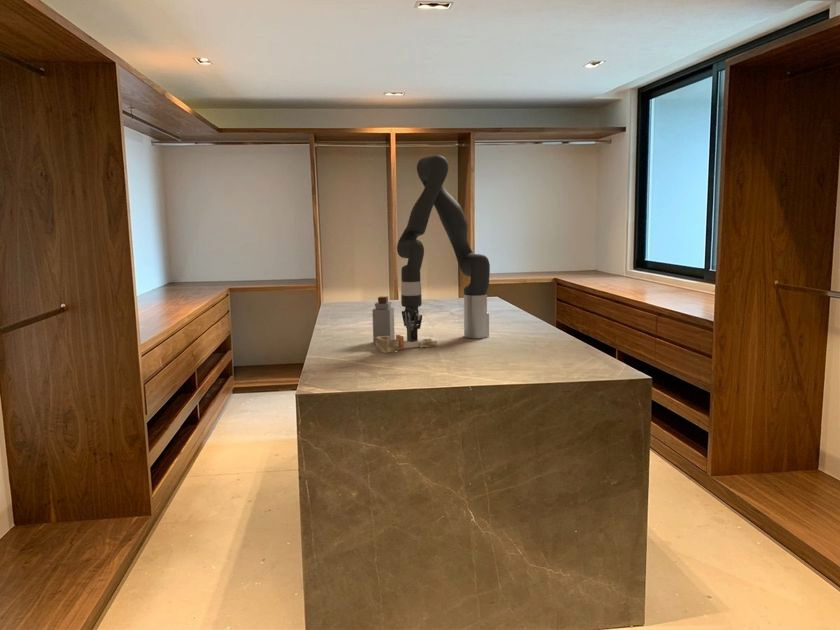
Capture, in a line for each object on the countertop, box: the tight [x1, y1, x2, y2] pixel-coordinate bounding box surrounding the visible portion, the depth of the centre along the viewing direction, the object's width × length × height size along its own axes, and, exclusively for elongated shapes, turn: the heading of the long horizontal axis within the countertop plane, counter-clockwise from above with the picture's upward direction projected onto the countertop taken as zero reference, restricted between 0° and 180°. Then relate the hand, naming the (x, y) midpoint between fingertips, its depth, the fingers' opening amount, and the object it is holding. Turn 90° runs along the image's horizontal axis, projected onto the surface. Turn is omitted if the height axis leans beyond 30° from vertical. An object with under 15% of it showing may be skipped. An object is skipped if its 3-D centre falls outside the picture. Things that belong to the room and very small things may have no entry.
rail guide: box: [418, 337, 438, 349], centre depth 244 cm, size 7×6×2 cm
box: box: [375, 336, 400, 354], centre depth 238 cm, size 5×9×4 cm, turn 25°
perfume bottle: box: [372, 296, 396, 344], centre depth 250 cm, size 7×7×18 cm
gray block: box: [395, 325, 425, 350], centre depth 241 cm, size 10×4×8 cm, turn 115°
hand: (412, 338), depth 242 cm, fingers closed on gray block, 3 cm apart
